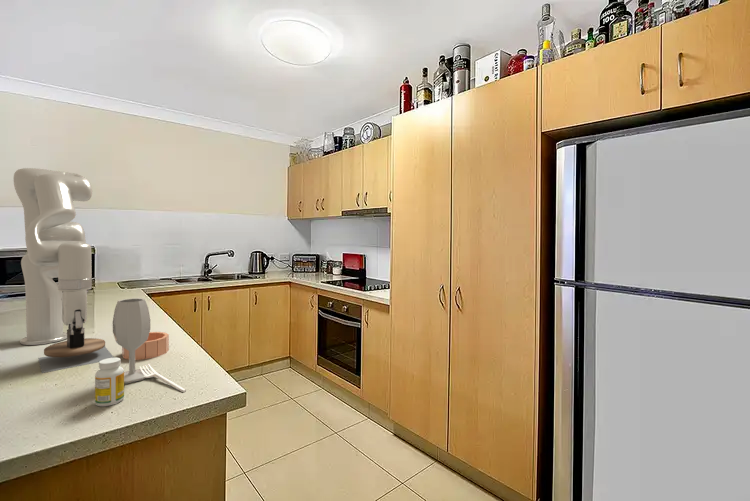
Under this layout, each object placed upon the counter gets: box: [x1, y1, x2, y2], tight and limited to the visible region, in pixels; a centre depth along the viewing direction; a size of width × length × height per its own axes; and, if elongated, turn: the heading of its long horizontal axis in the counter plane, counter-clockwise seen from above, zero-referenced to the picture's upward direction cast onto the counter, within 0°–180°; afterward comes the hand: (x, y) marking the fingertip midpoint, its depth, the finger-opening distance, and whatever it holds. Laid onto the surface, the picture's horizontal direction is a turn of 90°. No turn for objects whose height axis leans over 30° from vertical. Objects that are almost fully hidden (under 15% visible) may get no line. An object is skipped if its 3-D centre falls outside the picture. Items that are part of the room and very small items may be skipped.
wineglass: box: [112, 297, 151, 385], centre depth 94 cm, size 9×9×21 cm
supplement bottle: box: [94, 357, 125, 407], centre depth 81 cm, size 5×5×10 cm
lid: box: [43, 327, 106, 357], centre depth 106 cm, size 14×14×6 cm
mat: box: [38, 346, 115, 374], centre depth 106 cm, size 16×16×1 cm
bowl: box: [121, 331, 170, 361], centre depth 112 cm, size 12×12×6 cm
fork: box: [138, 363, 187, 393], centre depth 92 cm, size 3×20×2 cm, turn 58°
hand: (75, 344), depth 106 cm, fingers closed on lid, 4 cm apart
